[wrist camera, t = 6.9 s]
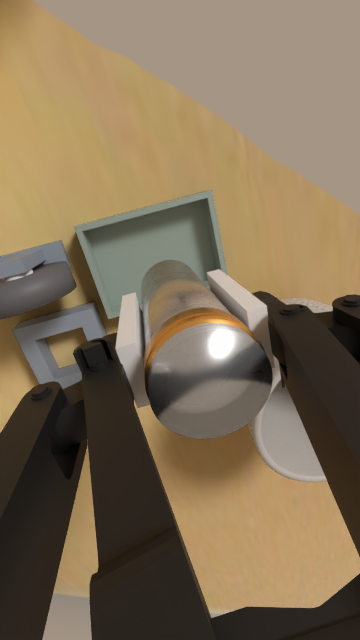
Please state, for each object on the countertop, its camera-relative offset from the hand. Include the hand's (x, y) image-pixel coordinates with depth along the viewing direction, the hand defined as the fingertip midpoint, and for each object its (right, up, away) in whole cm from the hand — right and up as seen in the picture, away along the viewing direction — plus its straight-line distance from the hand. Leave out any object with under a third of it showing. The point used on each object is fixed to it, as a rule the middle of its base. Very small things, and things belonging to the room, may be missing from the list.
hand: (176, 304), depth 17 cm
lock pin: (-1, +1, +3) cm, 4 cm away
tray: (-3, +7, +17) cm, 19 cm away
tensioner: (-14, -1, +18) cm, 23 cm away
